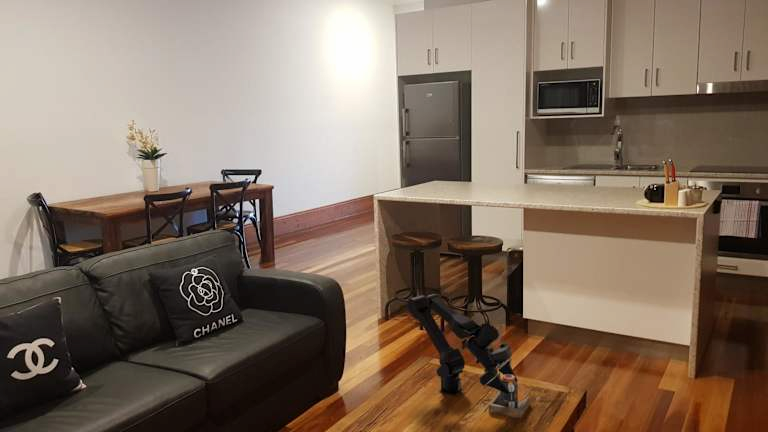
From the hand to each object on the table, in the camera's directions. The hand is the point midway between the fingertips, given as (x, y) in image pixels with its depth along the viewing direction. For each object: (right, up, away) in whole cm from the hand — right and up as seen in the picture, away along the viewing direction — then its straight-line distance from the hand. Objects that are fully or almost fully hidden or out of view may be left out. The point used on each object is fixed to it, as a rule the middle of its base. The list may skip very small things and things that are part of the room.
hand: (512, 387), depth 203 cm
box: (-1, -8, +2) cm, 8 cm away
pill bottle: (-1, -8, +2) cm, 8 cm away
